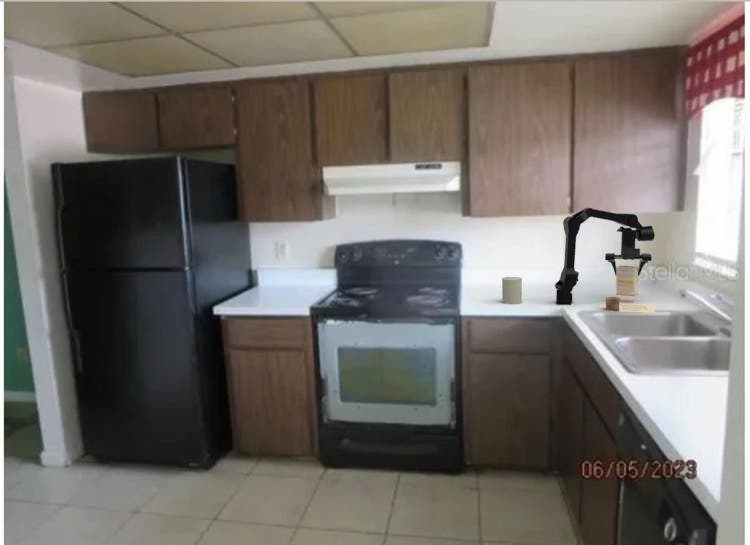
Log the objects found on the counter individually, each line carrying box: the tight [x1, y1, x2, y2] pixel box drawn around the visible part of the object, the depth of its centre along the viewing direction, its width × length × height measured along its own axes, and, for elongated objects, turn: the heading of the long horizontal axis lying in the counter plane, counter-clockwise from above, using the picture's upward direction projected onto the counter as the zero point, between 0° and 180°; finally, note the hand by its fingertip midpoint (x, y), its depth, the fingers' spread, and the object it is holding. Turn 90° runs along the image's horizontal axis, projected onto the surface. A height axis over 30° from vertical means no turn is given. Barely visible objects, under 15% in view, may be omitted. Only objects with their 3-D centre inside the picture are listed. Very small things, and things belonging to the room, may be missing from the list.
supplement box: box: [615, 265, 639, 297], centre depth 240 cm, size 8×5×13 cm, turn 46°
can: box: [501, 276, 523, 305], centre depth 250 cm, size 9×9×12 cm
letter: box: [617, 303, 656, 314], centre depth 228 cm, size 14×16×1 cm
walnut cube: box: [605, 296, 620, 312], centre depth 227 cm, size 5×5×5 cm
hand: (627, 275), depth 241 cm, fingers closed on supplement box, 9 cm apart
